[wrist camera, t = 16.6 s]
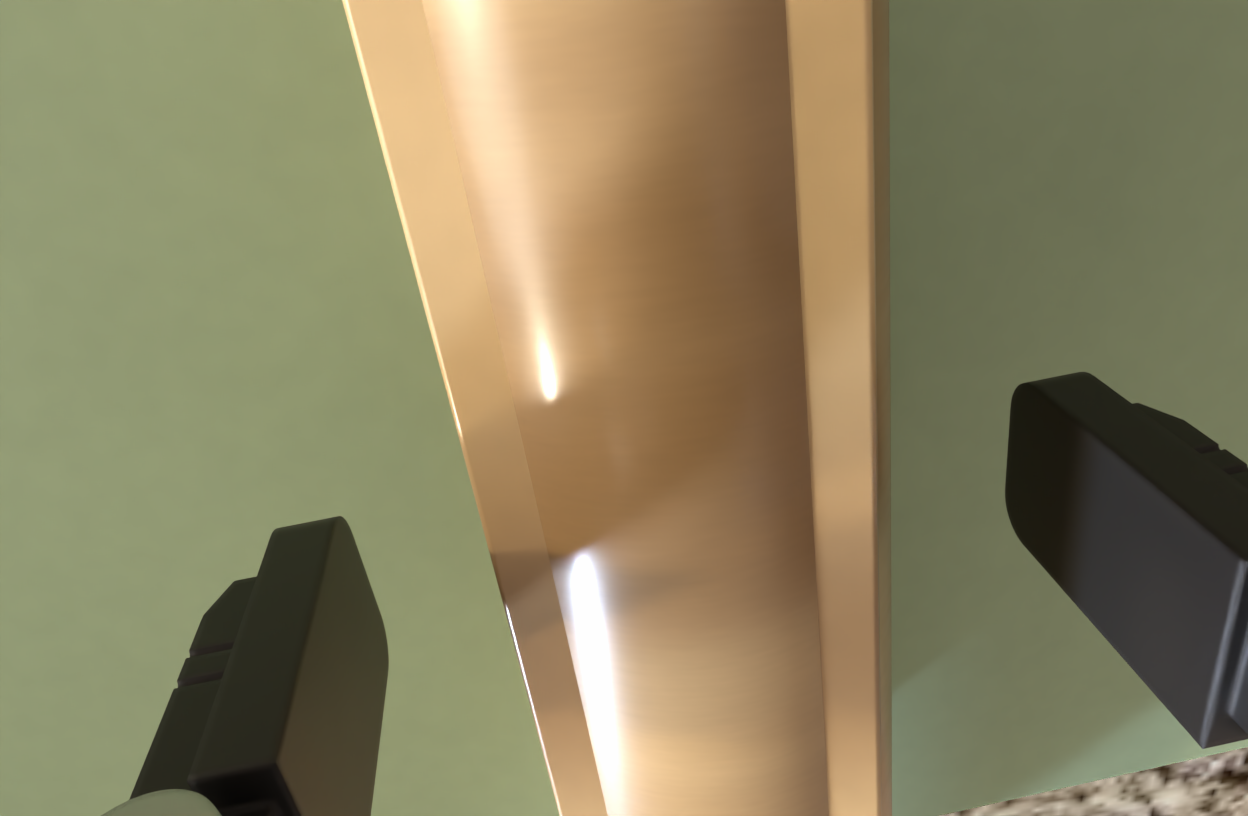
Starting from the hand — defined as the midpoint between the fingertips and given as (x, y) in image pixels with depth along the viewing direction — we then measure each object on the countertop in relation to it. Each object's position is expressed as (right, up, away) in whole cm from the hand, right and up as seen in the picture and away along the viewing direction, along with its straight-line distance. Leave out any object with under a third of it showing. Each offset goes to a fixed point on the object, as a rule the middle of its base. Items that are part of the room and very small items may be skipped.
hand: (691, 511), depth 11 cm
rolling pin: (0, +1, +2) cm, 2 cm away
